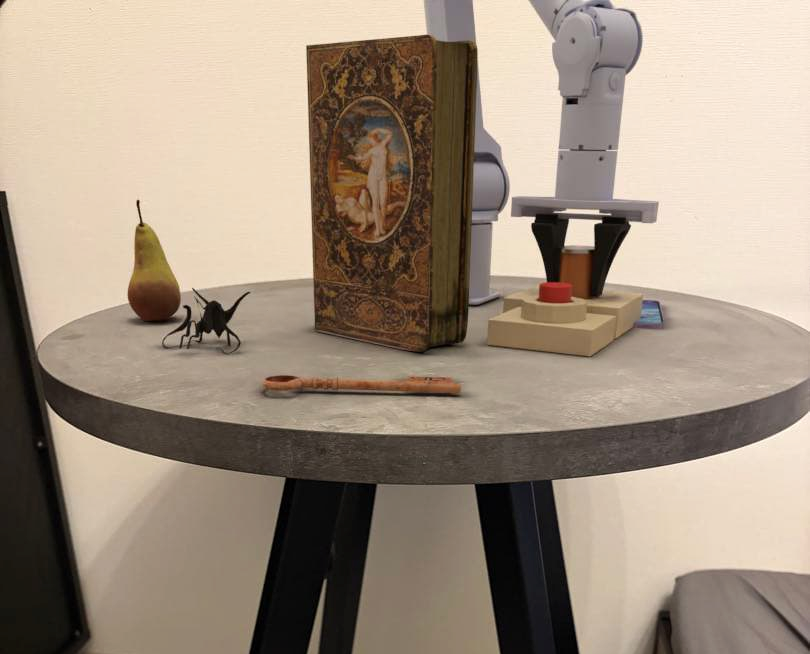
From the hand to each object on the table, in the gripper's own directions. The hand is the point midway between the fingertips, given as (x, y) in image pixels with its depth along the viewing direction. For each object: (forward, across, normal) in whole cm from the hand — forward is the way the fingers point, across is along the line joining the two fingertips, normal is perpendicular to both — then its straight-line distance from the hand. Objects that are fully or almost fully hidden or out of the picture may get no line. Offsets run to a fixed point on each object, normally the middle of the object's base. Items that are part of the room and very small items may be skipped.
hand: (575, 293), depth 90 cm
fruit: (+3, +39, +20) cm, 44 cm away
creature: (+3, +26, +28) cm, 38 cm away
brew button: (0, -1, +10) cm, 10 cm away
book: (+3, +14, +16) cm, 22 cm away
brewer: (+3, 0, 0) cm, 3 cm away
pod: (+1, 0, 0) cm, 1 cm away
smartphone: (+4, -4, -9) cm, 10 cm away
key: (+3, +6, +34) cm, 35 cm away
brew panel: (+3, -1, +10) cm, 11 cm away
